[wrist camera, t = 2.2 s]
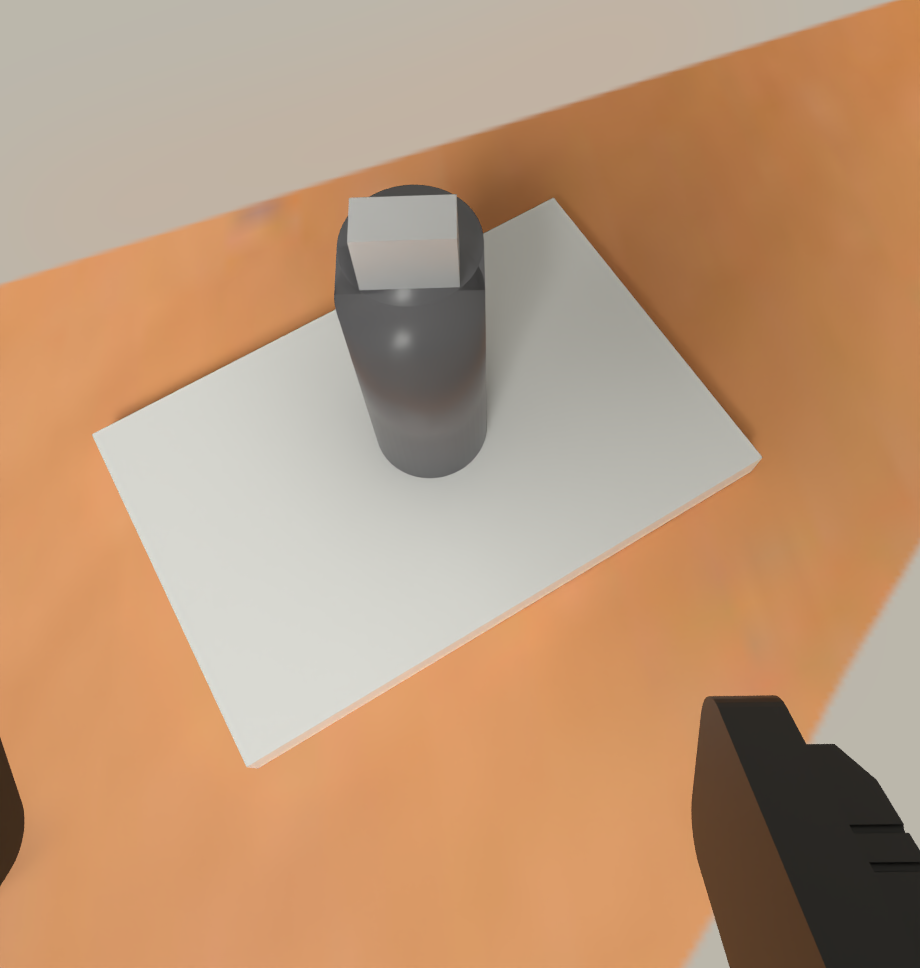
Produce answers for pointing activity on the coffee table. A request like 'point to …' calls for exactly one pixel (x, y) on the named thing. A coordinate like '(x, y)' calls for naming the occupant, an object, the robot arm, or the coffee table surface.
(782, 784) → the robot arm
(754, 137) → the coffee table surface
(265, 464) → the dock plate
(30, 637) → the coffee table surface
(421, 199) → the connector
